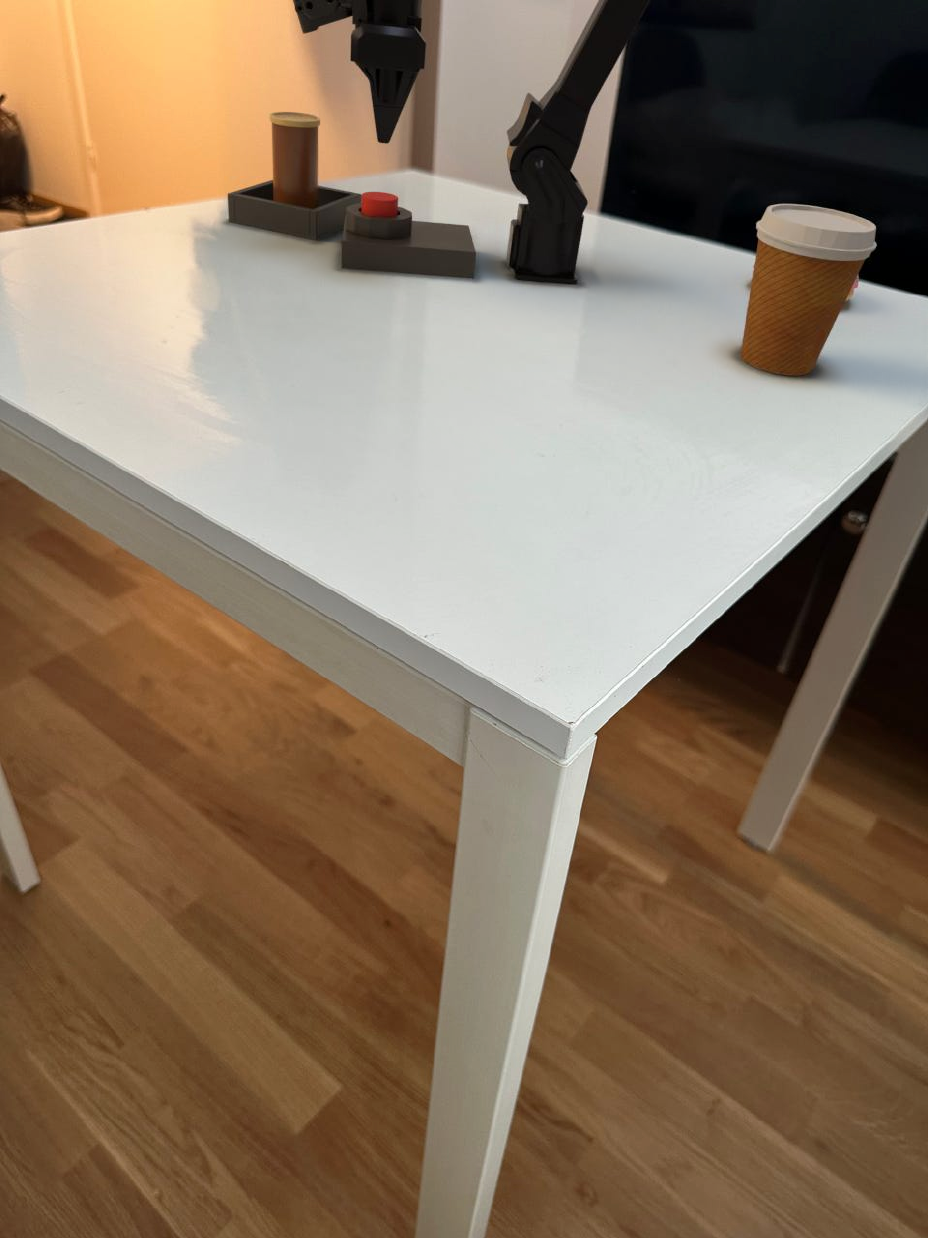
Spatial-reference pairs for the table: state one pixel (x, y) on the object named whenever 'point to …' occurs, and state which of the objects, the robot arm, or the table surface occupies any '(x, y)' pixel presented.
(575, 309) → the table surface
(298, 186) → the brown cup
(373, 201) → the brew button
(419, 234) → the red button box
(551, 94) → the robot arm
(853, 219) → the disposable coffee cup
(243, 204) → the tray
